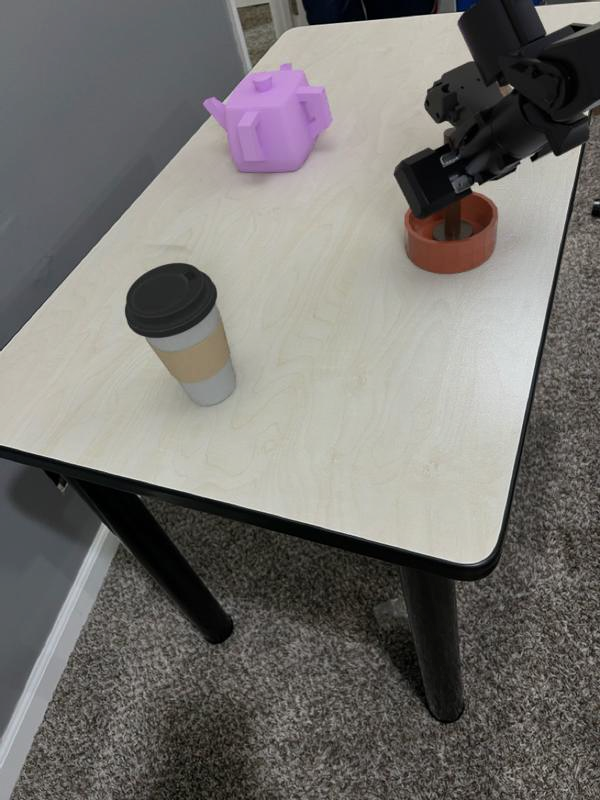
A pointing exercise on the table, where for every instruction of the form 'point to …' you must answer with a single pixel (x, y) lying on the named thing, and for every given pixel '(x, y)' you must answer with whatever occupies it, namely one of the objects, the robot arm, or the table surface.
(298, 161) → the teakettle
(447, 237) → the dark brown rod
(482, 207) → the bowl
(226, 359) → the coffee cup
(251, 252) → the table surface
